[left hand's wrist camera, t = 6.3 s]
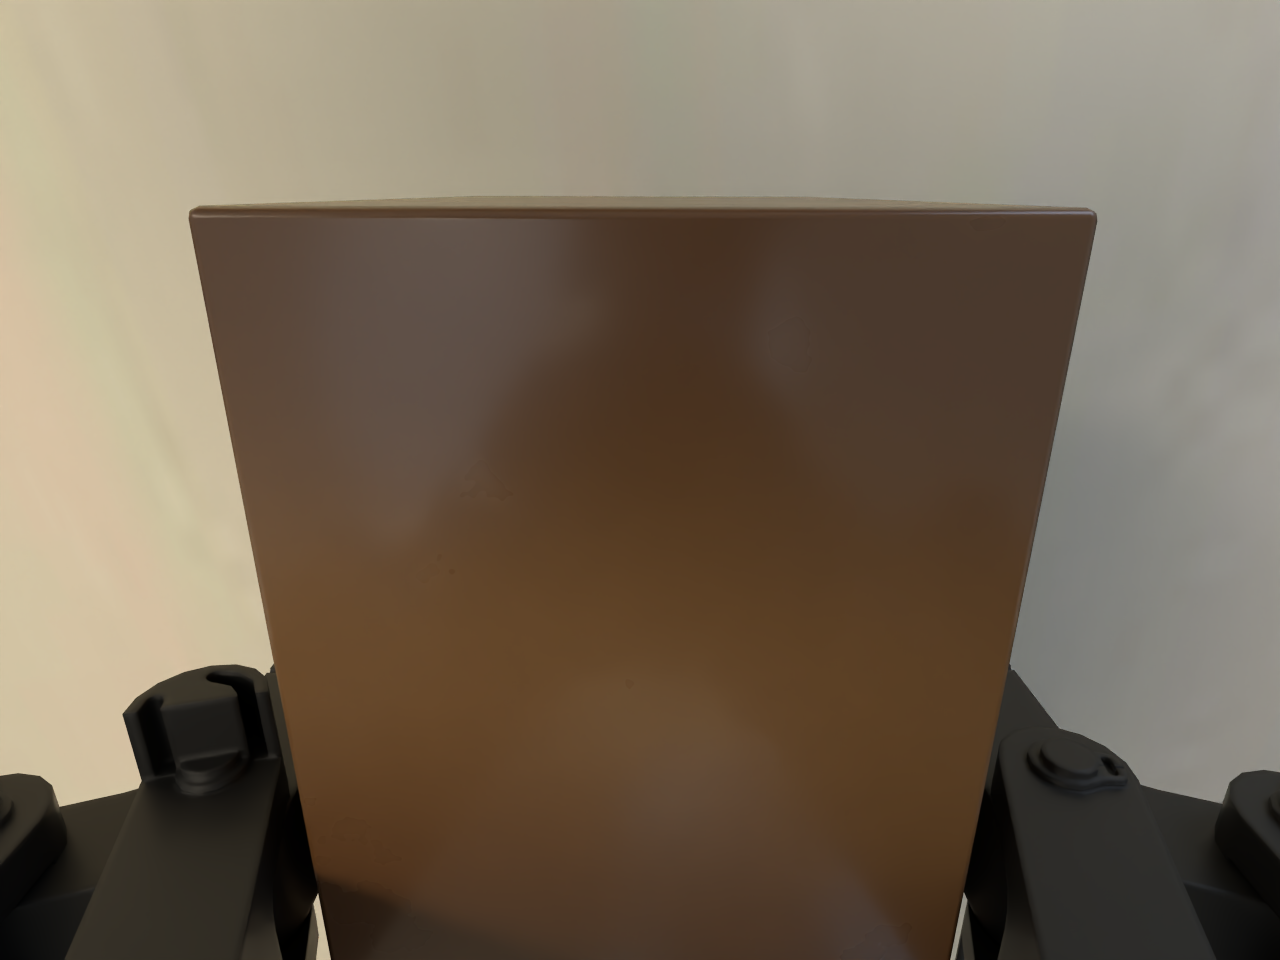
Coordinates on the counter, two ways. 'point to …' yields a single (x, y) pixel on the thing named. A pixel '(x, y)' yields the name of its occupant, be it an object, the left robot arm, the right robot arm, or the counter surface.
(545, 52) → the counter surface
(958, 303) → the bar
